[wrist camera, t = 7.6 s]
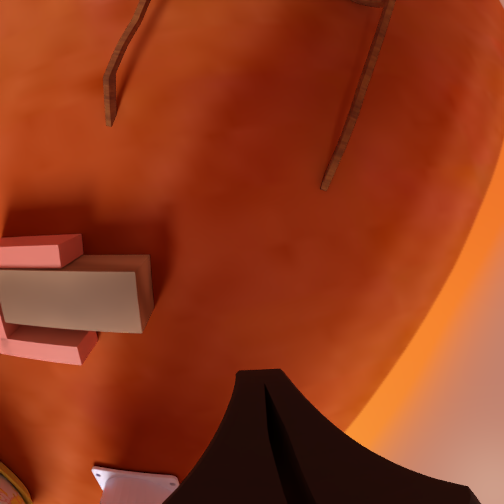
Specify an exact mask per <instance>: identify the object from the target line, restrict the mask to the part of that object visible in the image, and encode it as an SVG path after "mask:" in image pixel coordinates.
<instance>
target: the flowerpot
mask: <svg viewBox="0 0 504 504" xmlns="http://www.w3.org/2000/svg"><path fill="white" fill-rule="evenodd" d="M0 504H33V502H32V500H31V498H30V494H29V492H28V490H27V488H26V487H25V486H24V484H23V483H22V482H21V481H20V480H19V479H18V477H17V476H16V475H15V474H14V473H13V472H12V471H11V470H9V469H8V468H7V467H6V466H5V465H4V464H3V463H2V462H0Z"/></svg>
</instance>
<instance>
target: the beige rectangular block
mask: <svg viewBox="0 0 504 504" xmlns="http://www.w3.org/2000/svg"><path fill="white" fill-rule="evenodd" d="M0 303H1V307H2V311H3V315H4V319H5V322H6V323H14V324H23V325H31V326H41V327H51V328H61V329H73V330H86V331H102V332H120V333H143V331H144V328H145V326H146V324H147V322H148V320H149V318H150V316H151V314H152V311H153V309H154V299H153V288H152V276H151V263H150V255H81V256H80V257H78V258H76V259H75V260H73V261H72V262H70V263H69V264H67V265H66V266H64V267H62V268H0Z"/></svg>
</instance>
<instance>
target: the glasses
mask: <svg viewBox="0 0 504 504" xmlns="http://www.w3.org/2000/svg"><path fill="white" fill-rule="evenodd" d="M351 1H353V2H355V3H358V4H362V5H365V6H370V7H384V8H383V11H382V14H381V18H380V21H379V24H378V27H377V30H376V33H375V36H374V39H373V42H372V45H371V48H370V51H369V54H368V57H367V60H366V63H365V65H364V68H363V71H362V74H361V77H360V80H359V83H358V86H357V89H356V92H355V95H354V99H353V102H352V105H351V108H350V111H349V114H348V117H347V120H346V122H345V125H344V128H343V131H342V133H341V136H340V139H339V141H338V144H337V146H336V148H335V151H334V153H333V156H332V158H331V160H330V163H329V165H328V168H327V170H326V172H325V175H324V178H323V181H322V185H321V188H320V189H321V190H324V191H327V189H328V187H329V185H330V182H331V180H332V178H333V176H334V173H335V171H336V169H337V167H338V164H339V162H340V160H341V157H342V155H343V153H344V151H345V148H346V146H347V143H348V141H349V138H350V136H351V133H352V131H353V128H354V126H355V123H356V120H357V118H358V115H359V112H360V109H361V106H362V103H363V100H364V97H365V93H366V90H367V87H368V84H369V81H370V78H371V75H372V73H373V70H374V67H375V64H376V61H377V58H378V55H379V52H380V49H381V46H382V43H383V40H384V37H385V33H386V30H387V27H388V24H389V21H390V18H391V14H392V11H393V8H394V5H395V1H396V0H351ZM149 3H150V0H140V1H139V4H138V6H137V8H136V11H135V13H134V16H133V18H132V20H131V22H130V23H129V25H128V27H127V28H126V30H125V32H124V33H123V35H122V37H121V38H120V40H119V42H118V44H117V45H116V48H115V50H114V52H113V55H112V57H111V59H110V62H109V64H108V66H107V69H106V71H105V74H104V76H103V86H104V103H105V117H106V126H110V127H112V125H113V122H114V120H115V117H116V115H117V109H116V72H117V69H118V67H119V65H120V62H121V60H122V58H123V55H124V53H125V51H126V49H127V46H128V44H129V43H130V41H131V39H132V37H133V36H134V34H135V32H136V31H137V29H138V27H139V26H140V24H141V22H142V20H143V17H144V15H145V12H146V10H147V7H148V5H149Z"/></svg>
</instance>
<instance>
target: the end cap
mask: <svg viewBox="0 0 504 504" xmlns="http://www.w3.org/2000/svg"><path fill="white" fill-rule="evenodd" d="M83 254H84V252H83V243H82V234H62V235H41V236H22V237H5V238H0V268H62V267H64V266H66V265H67V264H69V263H70V262H72V261H73V260H75V259H76V258H78V257H80V256H81V255H83ZM97 341H98V338H97V333H96V331H86V330H73V329H61V328H51V327H41V326H31V325H23V324H14V323H6V322H5V319H4V315H3V311H2V307H1V303H0V353H1V354H6V355H12V356H18V357H24V358H30V359H36V360H43V361H50V362H58V363H66V364H75V365H82V364H83V363H84V361H85V359H86V358H87V356H88V355H89V353H90V352H91V350H92V349H93V347H94V346H95V344H96V343H97Z"/></svg>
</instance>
